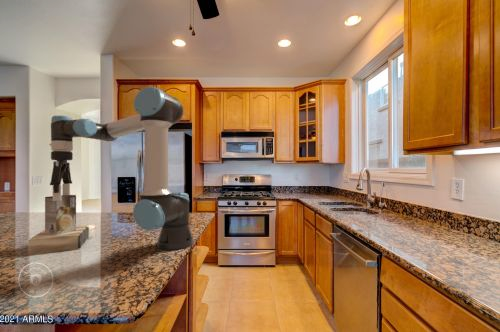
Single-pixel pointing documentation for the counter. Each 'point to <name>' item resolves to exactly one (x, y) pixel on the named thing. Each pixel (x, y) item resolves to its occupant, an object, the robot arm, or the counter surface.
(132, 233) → the counter surface
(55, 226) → the coffee box
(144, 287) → the counter surface
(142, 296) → the counter surface
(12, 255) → the counter surface
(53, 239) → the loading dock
